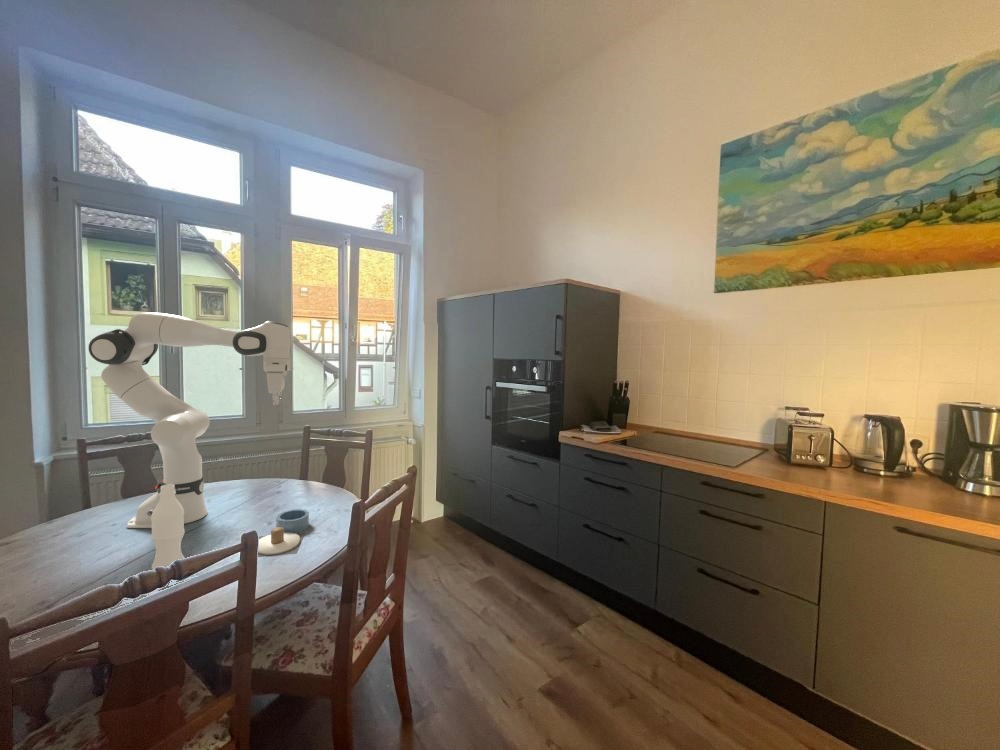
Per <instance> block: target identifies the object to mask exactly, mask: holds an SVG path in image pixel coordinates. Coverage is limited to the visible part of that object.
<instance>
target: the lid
mask: <svg viewBox="0 0 1000 750" xmlns="http://www.w3.org/2000/svg"><path fill="white" fill-rule="evenodd" d="M264 536H265V537H263V538H261V539H259V551H258V554H262V555H273V554H279V553H283V552H286V551H289V550H291V549H293V548H295V547H296V546H297V545H298V544H299V542H300V537H299V535H297V533H289V532H284V528H283V527H276V526H275V527H274V528H272V529H271V530H270V534H268V535H264ZM273 556H274V555H273Z"/></svg>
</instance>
